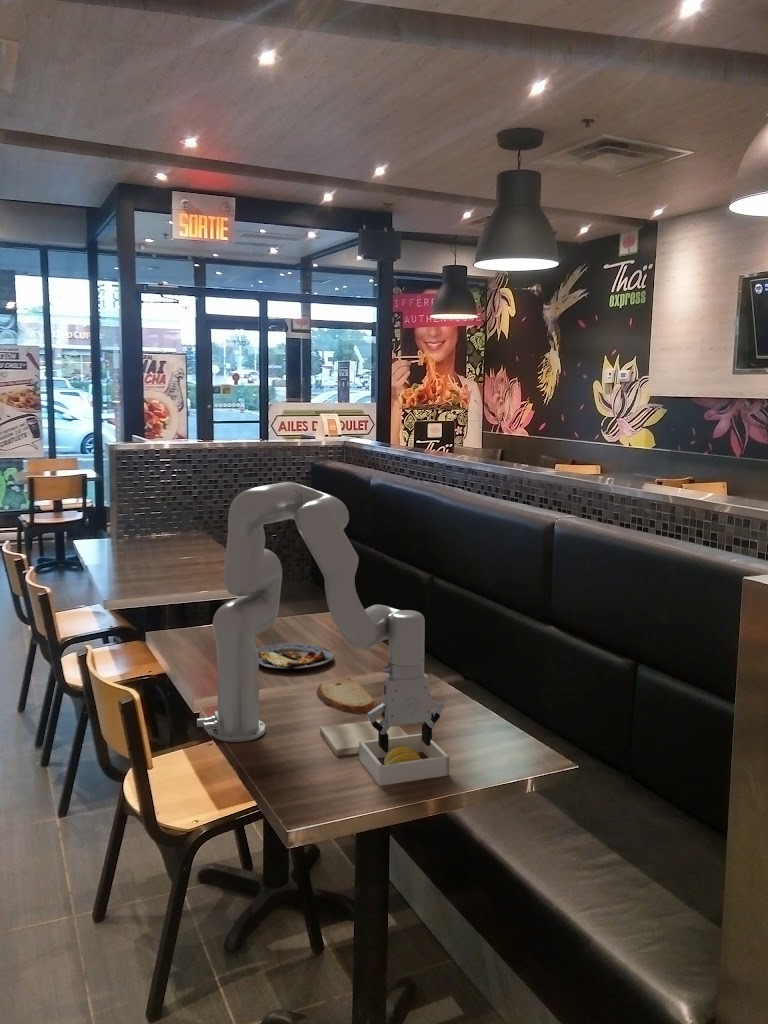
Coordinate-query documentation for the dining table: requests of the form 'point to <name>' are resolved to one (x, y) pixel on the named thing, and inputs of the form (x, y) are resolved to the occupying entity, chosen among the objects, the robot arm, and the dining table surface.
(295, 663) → the food plate
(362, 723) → the birch board
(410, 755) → the bread roll
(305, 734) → the dining table surface
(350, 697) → the slice of bread
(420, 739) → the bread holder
